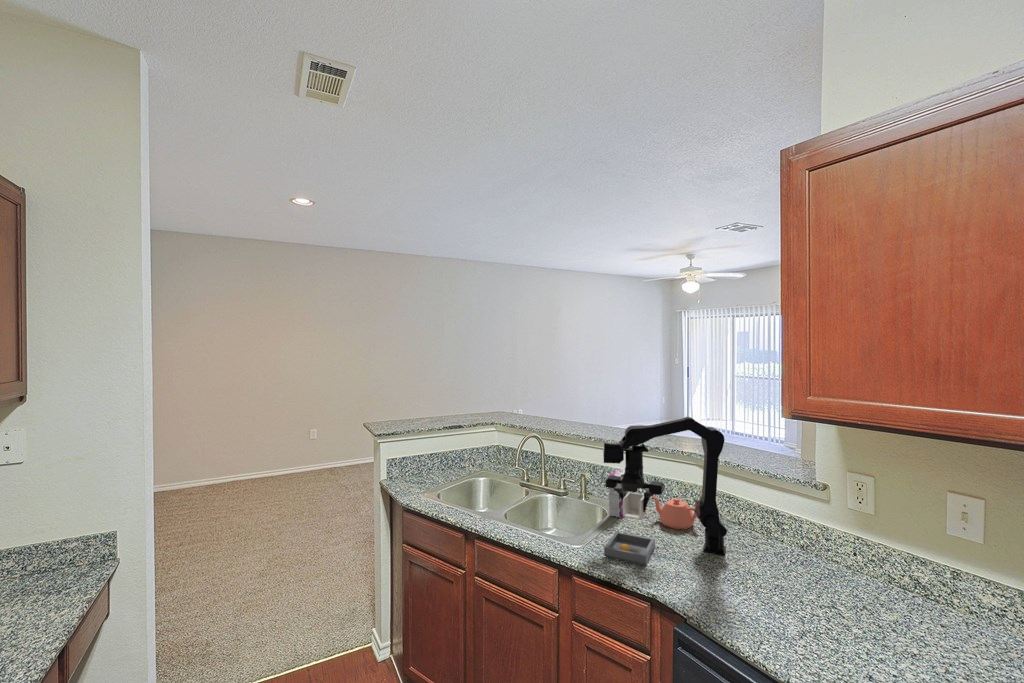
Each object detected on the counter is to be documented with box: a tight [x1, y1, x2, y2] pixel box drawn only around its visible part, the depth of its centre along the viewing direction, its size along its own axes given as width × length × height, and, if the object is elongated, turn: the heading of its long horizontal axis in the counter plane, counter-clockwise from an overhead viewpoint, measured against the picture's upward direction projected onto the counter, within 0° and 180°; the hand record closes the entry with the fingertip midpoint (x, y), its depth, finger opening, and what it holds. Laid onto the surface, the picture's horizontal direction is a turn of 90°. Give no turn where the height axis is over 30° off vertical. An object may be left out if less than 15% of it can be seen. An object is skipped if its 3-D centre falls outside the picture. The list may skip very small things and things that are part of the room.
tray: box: [603, 531, 656, 567], centre depth 144 cm, size 14×13×3 cm
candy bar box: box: [608, 468, 632, 519], centre depth 179 cm, size 11×5×16 cm, turn 143°
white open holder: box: [622, 492, 647, 521], centre depth 150 cm, size 8×6×6 cm
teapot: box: [651, 495, 698, 530], centre depth 168 cm, size 12×18×10 cm
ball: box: [620, 544, 630, 552], centre depth 141 cm, size 3×3×3 cm
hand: (634, 510), depth 150 cm, fingers closed on white open holder, 6 cm apart
